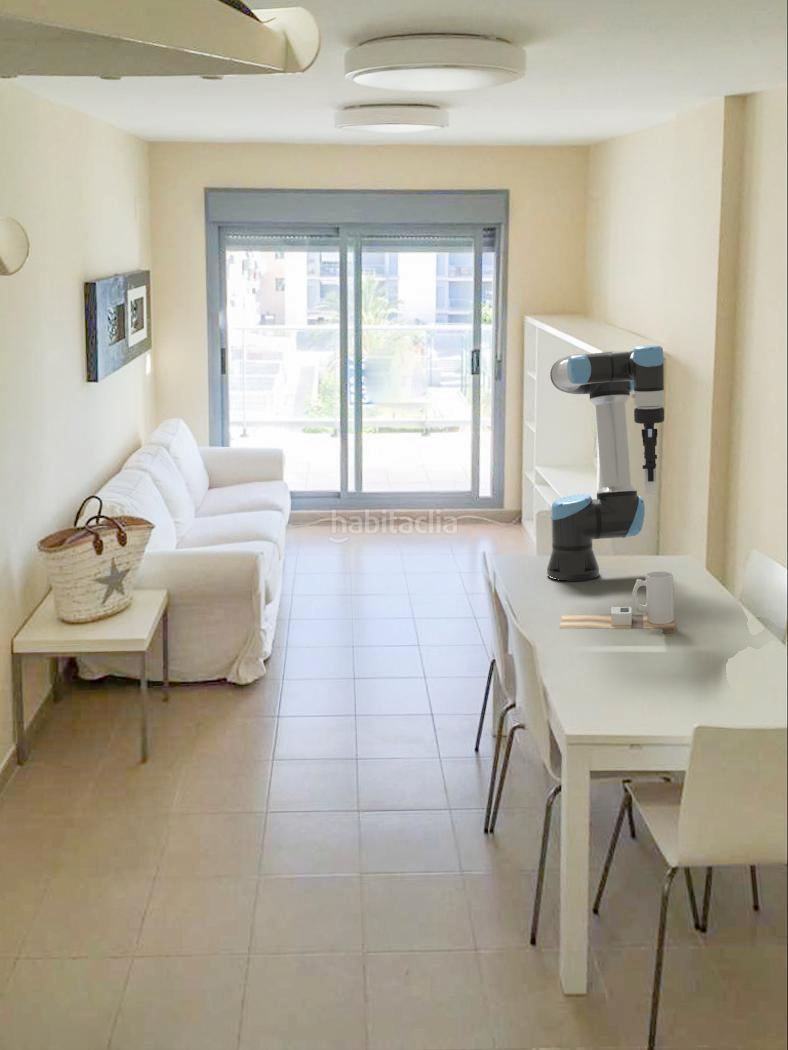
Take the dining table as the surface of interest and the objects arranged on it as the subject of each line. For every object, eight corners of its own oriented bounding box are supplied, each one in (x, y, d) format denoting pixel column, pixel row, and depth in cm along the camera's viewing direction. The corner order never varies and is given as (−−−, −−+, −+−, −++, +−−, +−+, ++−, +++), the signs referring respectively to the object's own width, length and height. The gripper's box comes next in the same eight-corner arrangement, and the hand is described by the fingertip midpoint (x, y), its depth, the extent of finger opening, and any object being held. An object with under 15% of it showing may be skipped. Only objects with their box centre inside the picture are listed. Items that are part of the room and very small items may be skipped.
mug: (672, 617, 315) (671, 570, 313) (675, 624, 309) (674, 577, 306) (631, 618, 317) (631, 572, 314) (634, 625, 310) (633, 578, 308)
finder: (611, 618, 317) (611, 606, 317) (631, 618, 316) (631, 606, 316) (611, 625, 311) (610, 613, 311) (631, 625, 310) (631, 612, 310)
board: (562, 619, 323) (561, 615, 323) (673, 619, 318) (673, 614, 317) (559, 633, 311) (559, 628, 311) (674, 632, 306) (674, 628, 306)
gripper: (633, 401, 331) (635, 480, 335) (634, 413, 307) (635, 498, 311) (662, 400, 330) (663, 480, 334) (665, 412, 306) (666, 497, 310)
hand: (650, 489), depth 323 cm, fingers open, 13 cm apart
